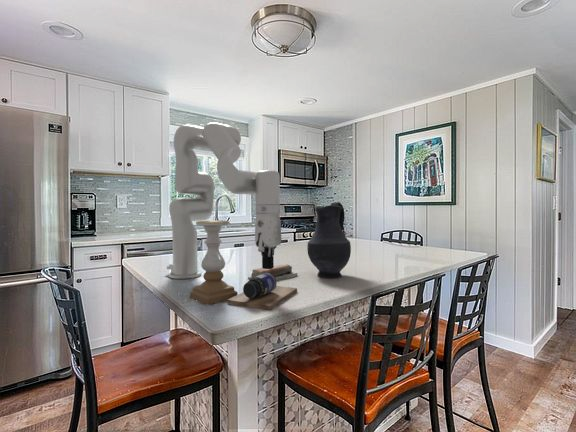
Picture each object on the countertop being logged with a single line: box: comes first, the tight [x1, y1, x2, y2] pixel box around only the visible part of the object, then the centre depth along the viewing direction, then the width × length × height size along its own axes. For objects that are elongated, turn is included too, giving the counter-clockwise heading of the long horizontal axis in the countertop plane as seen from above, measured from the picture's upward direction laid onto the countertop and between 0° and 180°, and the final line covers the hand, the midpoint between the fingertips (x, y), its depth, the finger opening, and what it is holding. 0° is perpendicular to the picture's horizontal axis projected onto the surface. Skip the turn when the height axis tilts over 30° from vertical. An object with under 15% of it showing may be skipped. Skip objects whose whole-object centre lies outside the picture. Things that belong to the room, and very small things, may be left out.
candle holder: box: [189, 220, 238, 306], centre depth 100 cm, size 11×11×24 cm
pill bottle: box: [242, 273, 278, 298], centre depth 98 cm, size 6×6×11 cm
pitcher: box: [306, 201, 352, 279], centre depth 131 cm, size 17×21×30 cm
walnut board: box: [226, 285, 298, 311], centre depth 100 cm, size 14×20×1 cm
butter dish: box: [247, 264, 298, 282], centre depth 128 cm, size 18×5×10 cm
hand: (267, 268), depth 101 cm, fingers closed
